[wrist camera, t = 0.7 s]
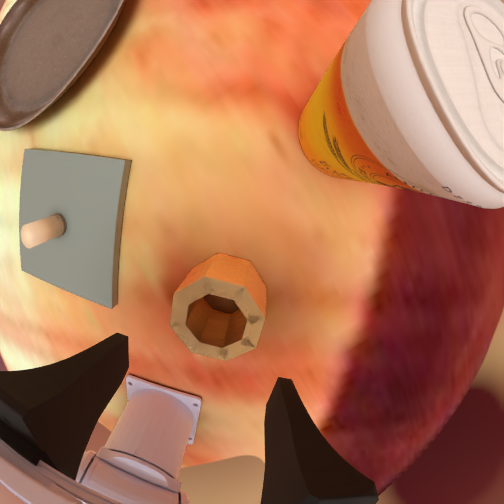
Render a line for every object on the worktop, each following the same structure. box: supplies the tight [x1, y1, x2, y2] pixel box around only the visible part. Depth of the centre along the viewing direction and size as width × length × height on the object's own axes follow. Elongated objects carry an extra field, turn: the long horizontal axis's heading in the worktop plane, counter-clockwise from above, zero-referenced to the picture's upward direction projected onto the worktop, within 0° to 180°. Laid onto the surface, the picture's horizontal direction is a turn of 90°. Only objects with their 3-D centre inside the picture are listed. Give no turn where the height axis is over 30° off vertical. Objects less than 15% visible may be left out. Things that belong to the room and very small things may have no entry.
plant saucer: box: [0, 0, 125, 131], centre depth 13 cm, size 21×21×3 cm
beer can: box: [298, 0, 504, 209], centre depth 10 cm, size 6×6×15 cm
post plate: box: [19, 149, 131, 309], centre depth 17 cm, size 12×12×5 cm
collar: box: [170, 253, 266, 361], centre depth 18 cm, size 6×6×4 cm
